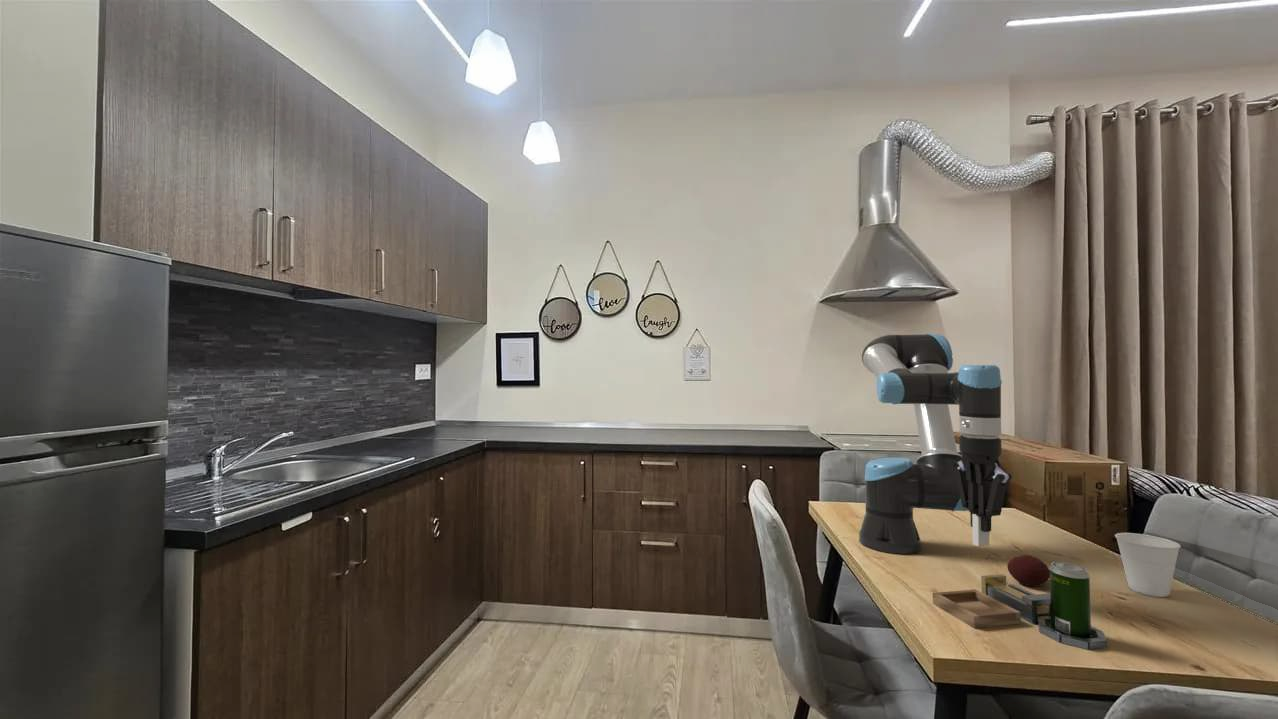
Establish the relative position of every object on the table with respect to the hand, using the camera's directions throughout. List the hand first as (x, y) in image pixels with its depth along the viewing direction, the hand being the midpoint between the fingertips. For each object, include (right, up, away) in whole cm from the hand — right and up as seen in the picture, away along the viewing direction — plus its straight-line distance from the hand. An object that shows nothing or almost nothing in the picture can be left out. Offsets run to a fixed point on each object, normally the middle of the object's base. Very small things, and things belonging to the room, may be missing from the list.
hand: (980, 544), depth 107 cm
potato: (+13, -10, +3) cm, 17 cm away
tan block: (+1, -9, -9) cm, 13 cm away
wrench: (+2, -9, -14) cm, 17 cm away
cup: (+35, -10, -1) cm, 37 cm away
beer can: (+3, -9, -19) cm, 21 cm away
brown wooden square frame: (-9, -9, -11) cm, 17 cm away
